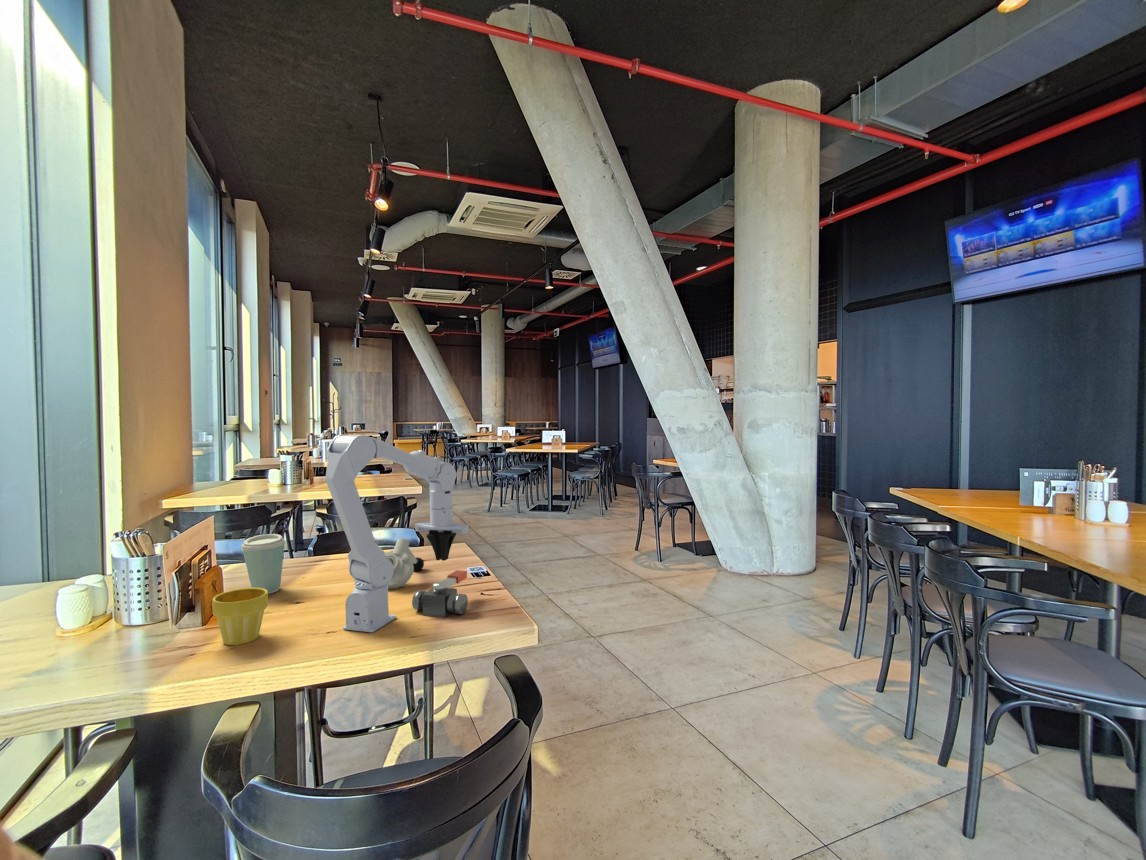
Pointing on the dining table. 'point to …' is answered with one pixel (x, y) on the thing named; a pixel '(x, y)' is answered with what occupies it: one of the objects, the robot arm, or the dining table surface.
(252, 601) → the plant pot
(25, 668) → the dining table surface
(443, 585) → the valve lever
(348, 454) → the robot arm
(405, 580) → the grey rounded housing
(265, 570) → the disposable coffee cup
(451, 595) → the pipe valve
